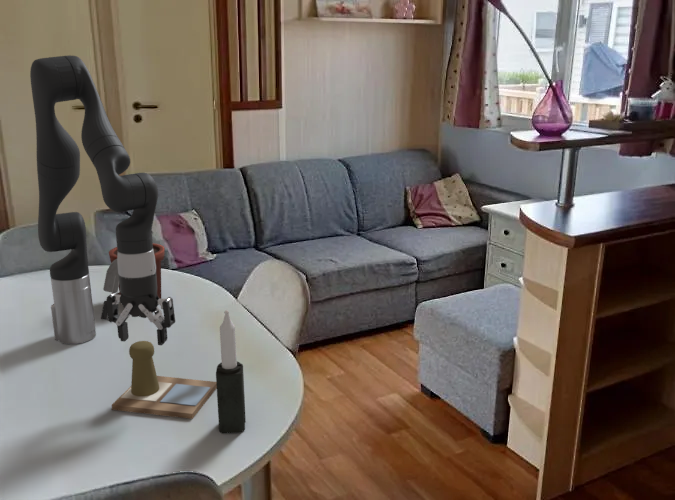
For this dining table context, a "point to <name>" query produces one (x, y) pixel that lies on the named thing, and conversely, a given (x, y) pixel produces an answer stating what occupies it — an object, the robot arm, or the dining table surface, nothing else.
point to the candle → (230, 382)
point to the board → (169, 398)
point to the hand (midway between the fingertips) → (143, 341)
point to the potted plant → (113, 278)
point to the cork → (143, 369)
